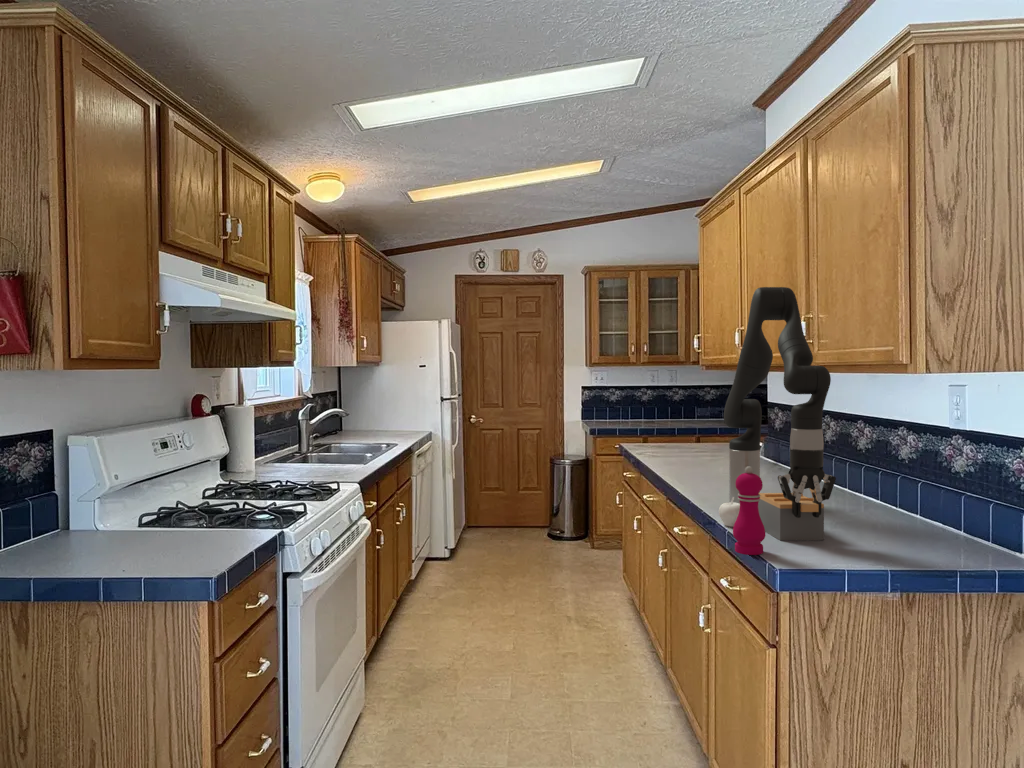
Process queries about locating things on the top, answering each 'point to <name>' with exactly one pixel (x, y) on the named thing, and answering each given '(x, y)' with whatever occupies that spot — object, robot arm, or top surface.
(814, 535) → the tub
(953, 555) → the top surface
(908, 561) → the top surface
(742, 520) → the pepper mill
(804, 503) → the wooden paddle board
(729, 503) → the apple
